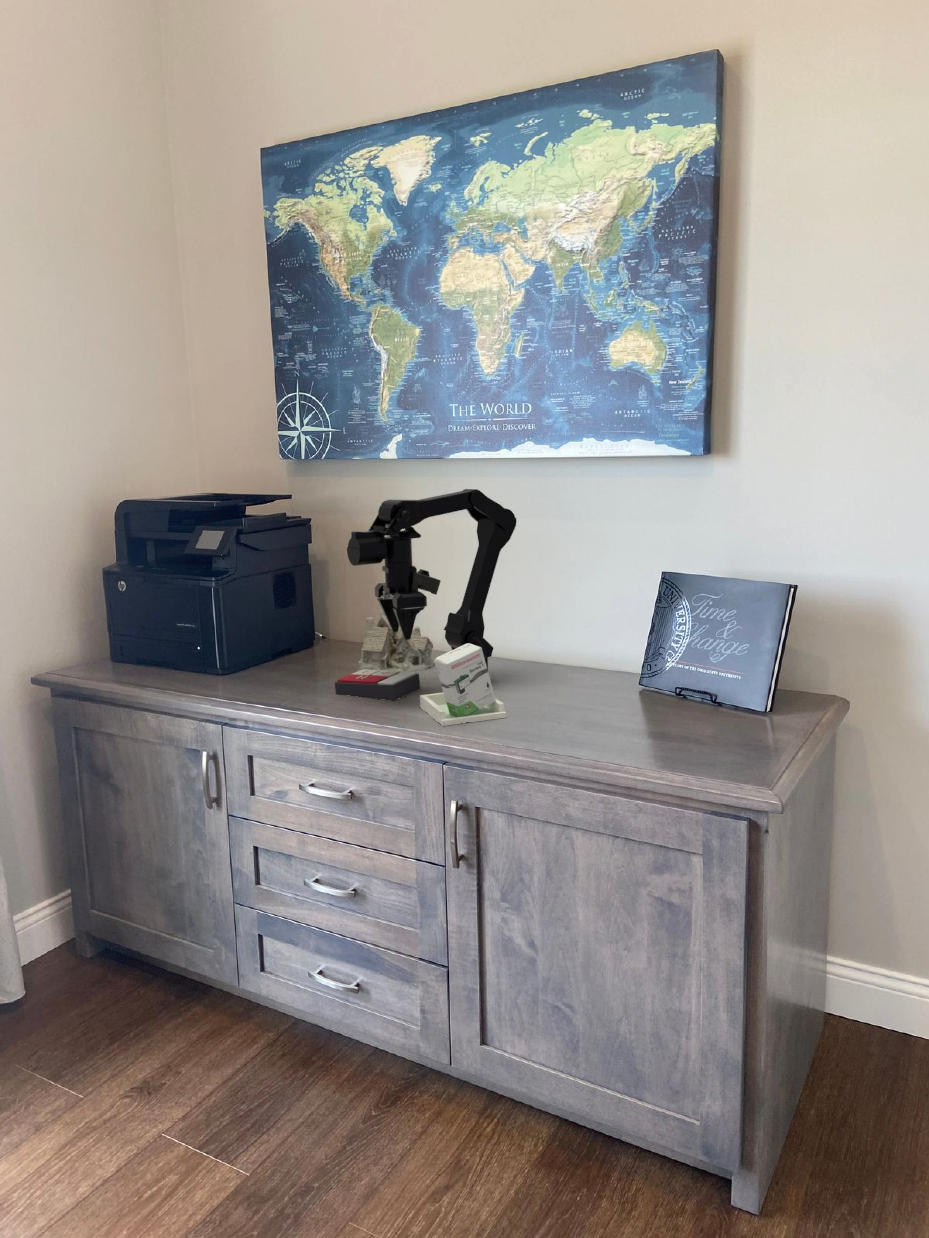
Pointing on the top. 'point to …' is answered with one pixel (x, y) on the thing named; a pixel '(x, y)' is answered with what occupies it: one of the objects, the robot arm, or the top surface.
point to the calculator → (378, 684)
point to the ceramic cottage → (394, 648)
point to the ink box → (465, 680)
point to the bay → (440, 712)
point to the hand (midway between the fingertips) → (401, 635)
